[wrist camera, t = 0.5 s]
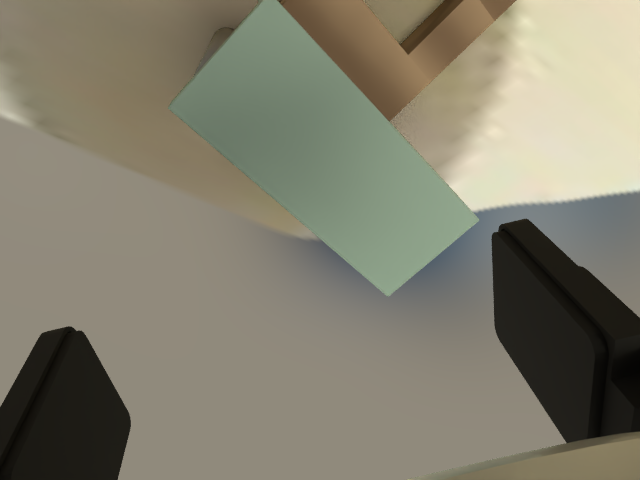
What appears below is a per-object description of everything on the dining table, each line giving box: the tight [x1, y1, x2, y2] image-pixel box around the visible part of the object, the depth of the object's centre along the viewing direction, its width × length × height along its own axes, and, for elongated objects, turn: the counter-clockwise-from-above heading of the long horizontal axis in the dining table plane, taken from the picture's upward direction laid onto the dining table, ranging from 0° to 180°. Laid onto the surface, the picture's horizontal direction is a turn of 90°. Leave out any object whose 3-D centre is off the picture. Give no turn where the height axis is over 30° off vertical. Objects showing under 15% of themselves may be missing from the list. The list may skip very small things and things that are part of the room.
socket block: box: [279, 0, 516, 121], centre depth 34 cm, size 14×10×3 cm
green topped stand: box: [168, 0, 479, 296], centre depth 30 cm, size 6×14×17 cm, turn 44°
